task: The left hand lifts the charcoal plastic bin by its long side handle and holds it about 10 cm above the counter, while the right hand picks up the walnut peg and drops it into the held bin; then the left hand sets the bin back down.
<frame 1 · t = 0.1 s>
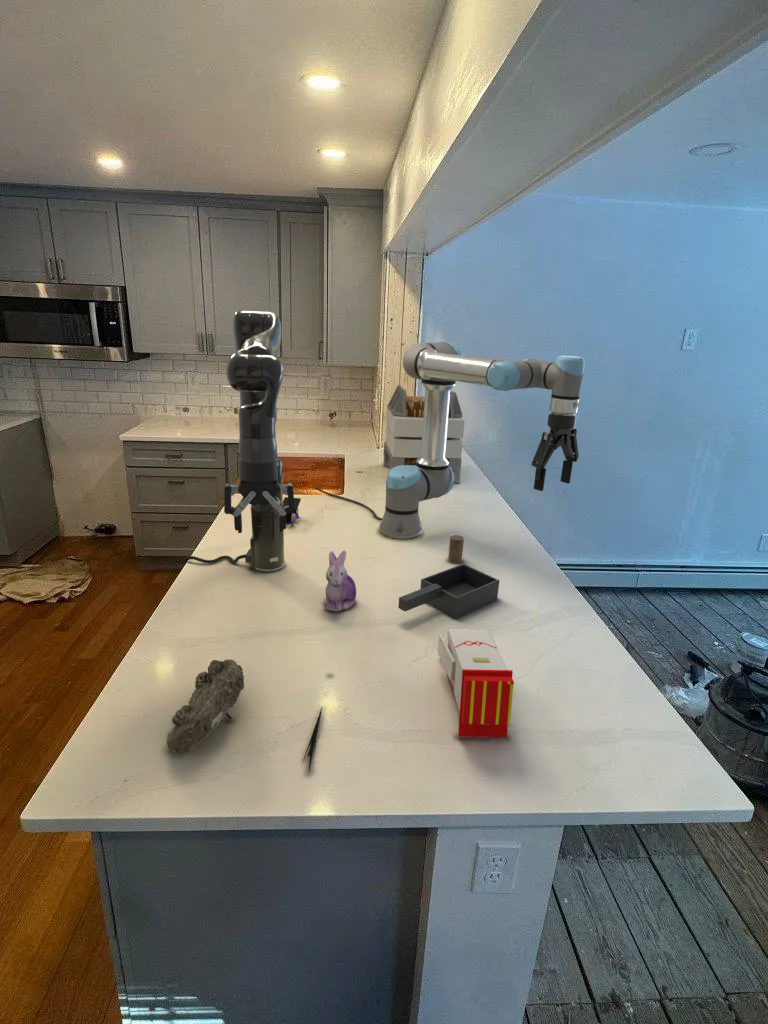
left hand: (260, 531, 120), 29 cm above the counter, fingers open, 8 cm apart
right hand: (551, 486, 166), 28 cm above the counter, fingers open, 13 cm apart
figurine: (340, 604, 151), on the counter
toy: (469, 691, 119), on the counter
walnut peg: (454, 560, 180), on the counter
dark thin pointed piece: (319, 719, 109), on the counter
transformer: (419, 473, 275), on the counter
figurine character: (290, 522, 206), on the counter
fossil: (212, 717, 108), on the counter
bin: (458, 599, 156), on the counter
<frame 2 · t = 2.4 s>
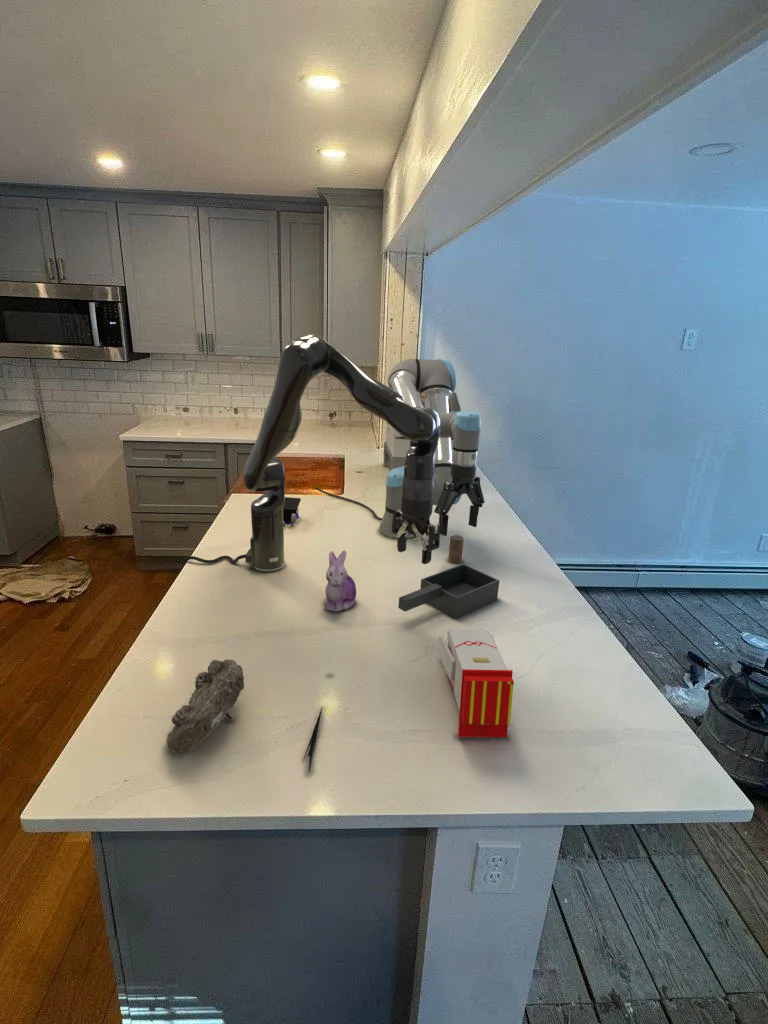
left hand: (413, 557, 139), 18 cm above the counter, fingers open, 8 cm apart
right hand: (458, 530, 176), 11 cm above the counter, fingers open, 13 cm apart
nothing on the counter moved.
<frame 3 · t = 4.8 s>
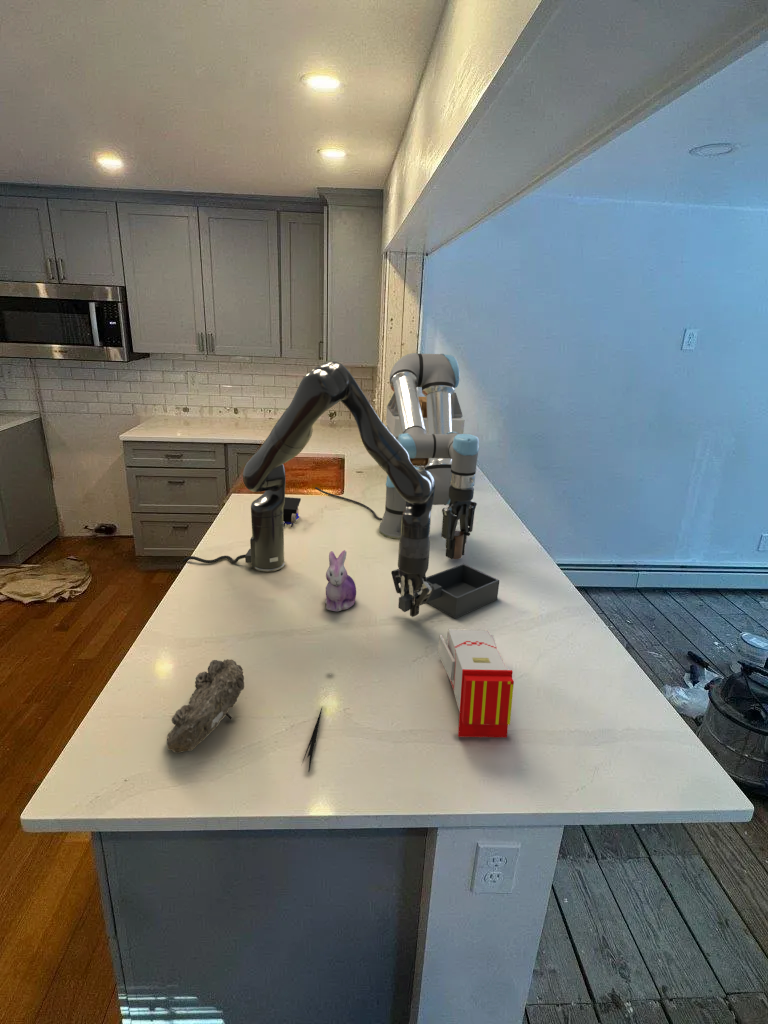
left hand: (409, 612, 144), 2 cm above the counter, fingers closed on bin, 2 cm apart
right hand: (454, 555, 180), 2 cm above the counter, fingers closed on walnut peg, 4 cm apart
walnut peg: (454, 556, 180), point 1 cm above the counter, touching right hand
bin: (458, 599, 156), on the counter, touching left hand
everything else where it was.
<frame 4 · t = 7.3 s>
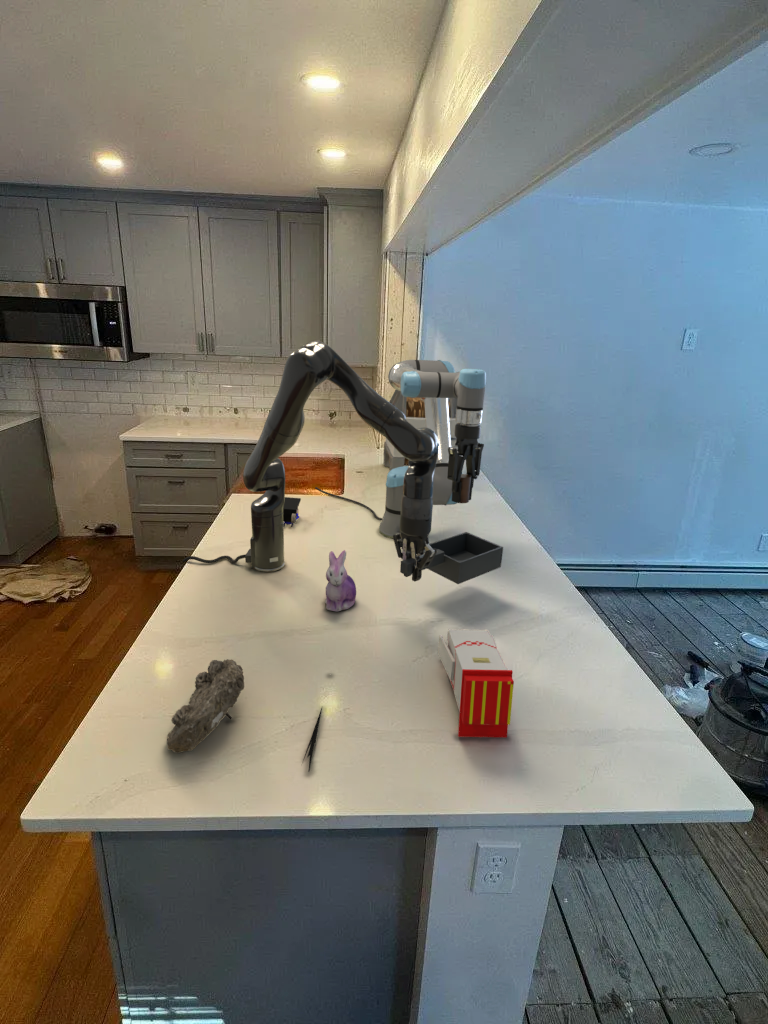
left hand: (411, 577, 141), 12 cm above the counter, fingers closed on bin, 2 cm apart
right hand: (461, 500, 172), 21 cm above the counter, fingers closed on walnut peg, 4 cm apart
walnut peg: (461, 501, 172), point 21 cm above the counter, touching right hand
bin: (461, 566, 153), point 10 cm above the counter, touching left hand
everything else where it was.
when the right hand's fingers open (18 cm above the counter, at t = 9.7 s): walnut peg drops 7 cm, resting on bin.
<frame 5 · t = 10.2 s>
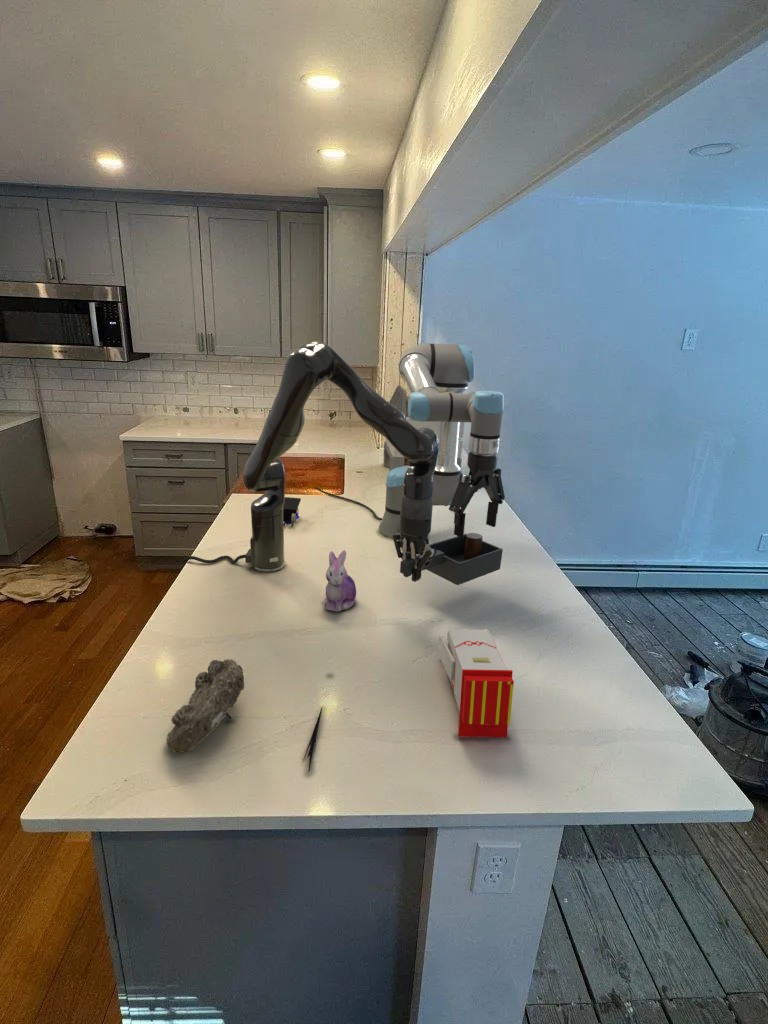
left hand: (411, 578, 141), 12 cm above the counter, fingers closed on bin, 2 cm apart
right hand: (475, 530, 152), 20 cm above the counter, fingers open, 12 cm apart
walnut peg: (471, 562, 156), point 10 cm above the counter, touching bin
bin: (460, 568, 153), point 9 cm above the counter, touching left hand, walnut peg
everything else where it was.
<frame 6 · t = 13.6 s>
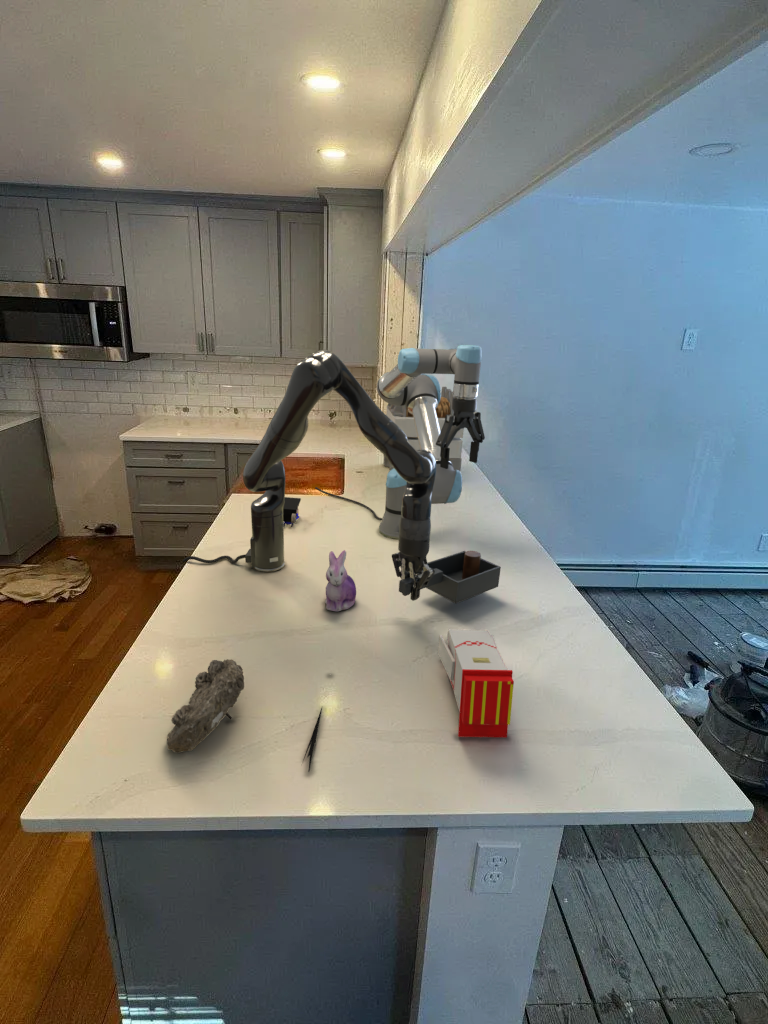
left hand: (410, 596, 142), 7 cm above the counter, fingers closed on bin, 2 cm apart
right hand: (458, 464, 181), 29 cm above the counter, fingers open, 13 cm apart
walnut peg: (469, 580, 157), point 5 cm above the counter, touching bin
bin: (459, 585, 155), point 4 cm above the counter, touching left hand, walnut peg
everything else where it was.
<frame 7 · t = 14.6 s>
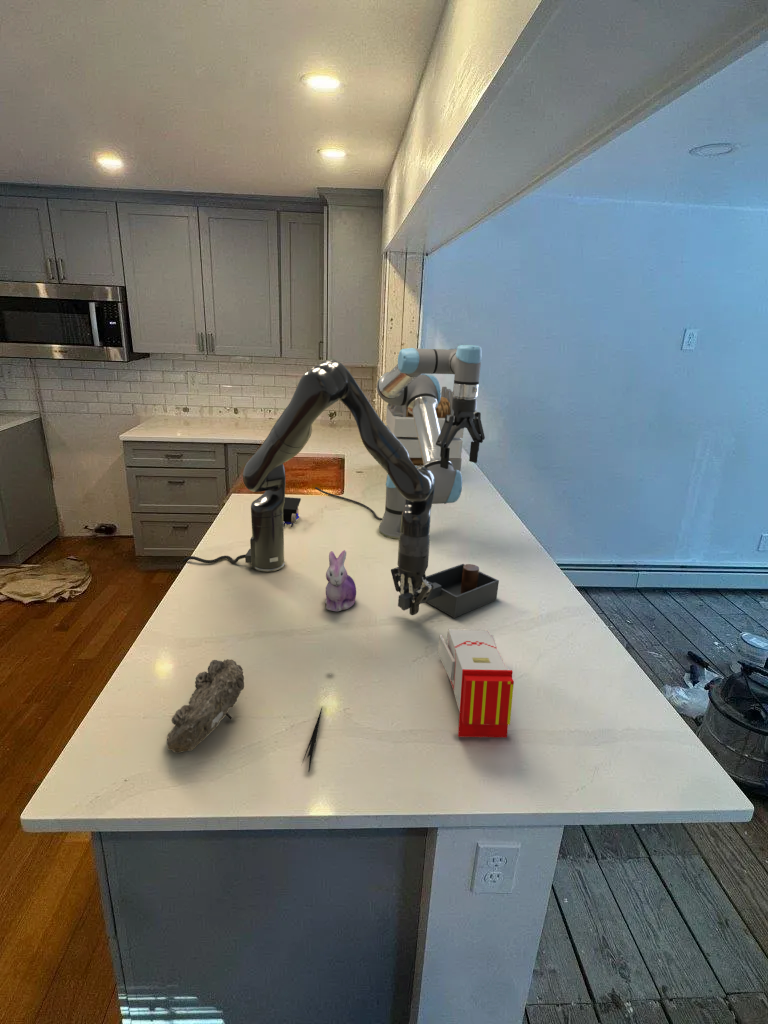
left hand: (409, 611, 144), 3 cm above the counter, fingers closed on bin, 2 cm apart
right hand: (458, 464, 181), 29 cm above the counter, fingers open, 13 cm apart
walnut peg: (468, 593, 159), point 1 cm above the counter, touching bin
bin: (457, 598, 156), on the counter, touching left hand, walnut peg
everything else where it was.
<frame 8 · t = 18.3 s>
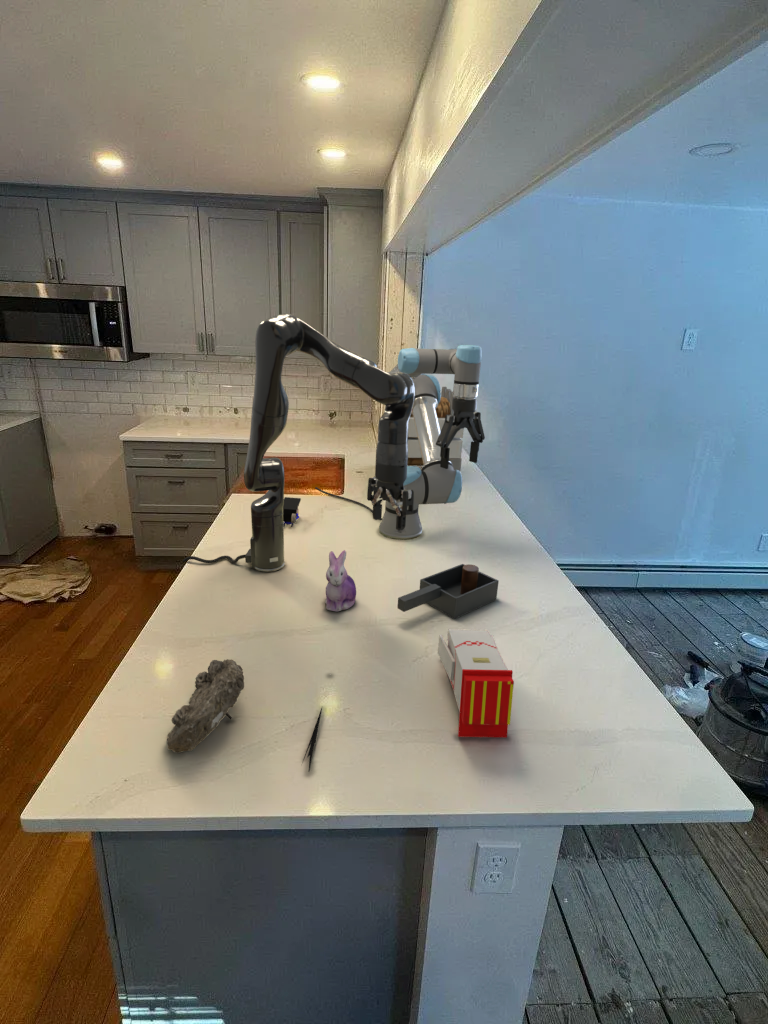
left hand: (388, 524, 138), 25 cm above the counter, fingers open, 8 cm apart
right hand: (458, 464, 181), 29 cm above the counter, fingers open, 13 cm apart
bin: (457, 599, 156), on the counter, touching walnut peg
everything else where it was.
at the end: walnut peg inside the target area on the bin (4.1 cm from its centre), point 0.6 cm above the bin's base; the left hand is holding nothing; the right hand is holding nothing; bin never tilted more than 2° during the clip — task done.
